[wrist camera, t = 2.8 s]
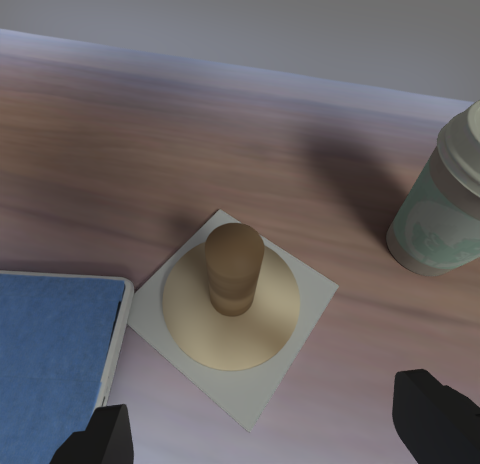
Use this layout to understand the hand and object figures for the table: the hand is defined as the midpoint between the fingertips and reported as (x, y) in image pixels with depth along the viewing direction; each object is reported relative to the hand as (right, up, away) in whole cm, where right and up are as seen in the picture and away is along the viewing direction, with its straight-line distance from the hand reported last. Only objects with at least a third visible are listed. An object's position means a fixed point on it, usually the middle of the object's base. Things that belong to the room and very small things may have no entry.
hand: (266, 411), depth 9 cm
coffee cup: (+15, +4, +18) cm, 23 cm away
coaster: (-1, 0, +14) cm, 14 cm away
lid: (-1, 0, +14) cm, 14 cm away
